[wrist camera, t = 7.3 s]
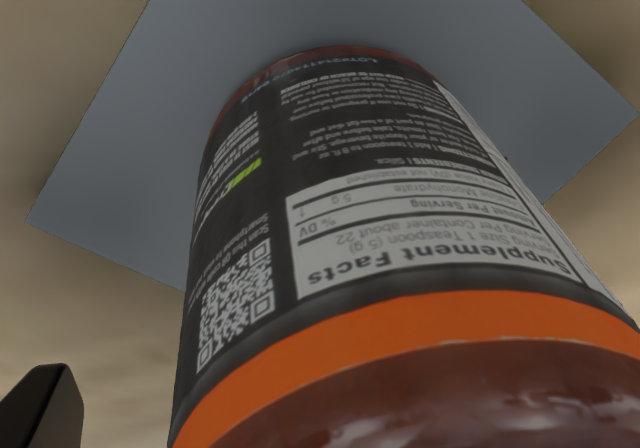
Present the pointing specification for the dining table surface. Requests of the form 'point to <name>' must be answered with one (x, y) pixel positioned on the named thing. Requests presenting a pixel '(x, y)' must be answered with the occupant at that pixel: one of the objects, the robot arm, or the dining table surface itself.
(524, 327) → the supplement bottle
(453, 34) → the mat
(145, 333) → the dining table surface
